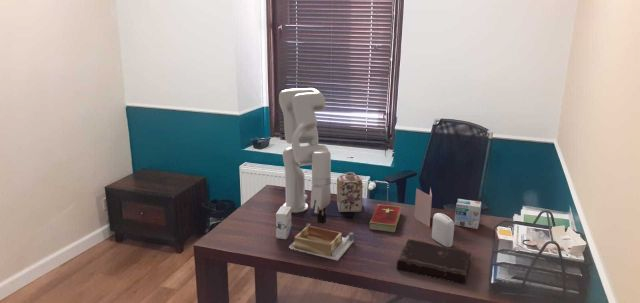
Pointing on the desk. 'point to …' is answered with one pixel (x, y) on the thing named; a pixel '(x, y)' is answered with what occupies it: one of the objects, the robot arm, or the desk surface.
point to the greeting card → (423, 207)
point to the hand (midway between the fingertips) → (321, 222)
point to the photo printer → (443, 229)
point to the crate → (318, 240)
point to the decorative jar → (349, 193)
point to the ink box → (283, 222)
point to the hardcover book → (385, 218)
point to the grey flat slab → (338, 251)
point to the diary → (434, 261)
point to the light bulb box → (467, 213)
